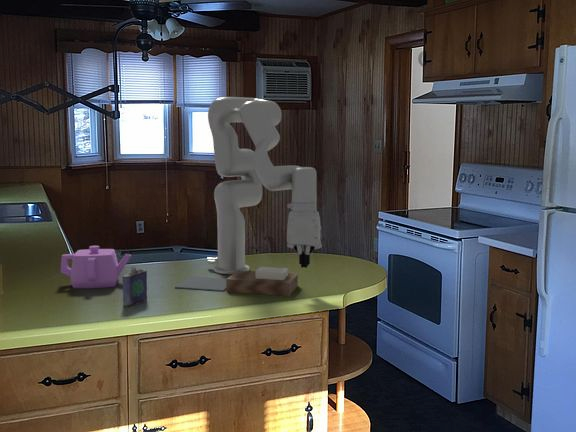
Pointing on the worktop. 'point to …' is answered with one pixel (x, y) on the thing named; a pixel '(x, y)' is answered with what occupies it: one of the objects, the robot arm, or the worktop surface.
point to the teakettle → (93, 267)
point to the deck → (260, 284)
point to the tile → (271, 273)
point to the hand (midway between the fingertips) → (304, 266)
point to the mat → (203, 284)
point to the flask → (134, 287)
